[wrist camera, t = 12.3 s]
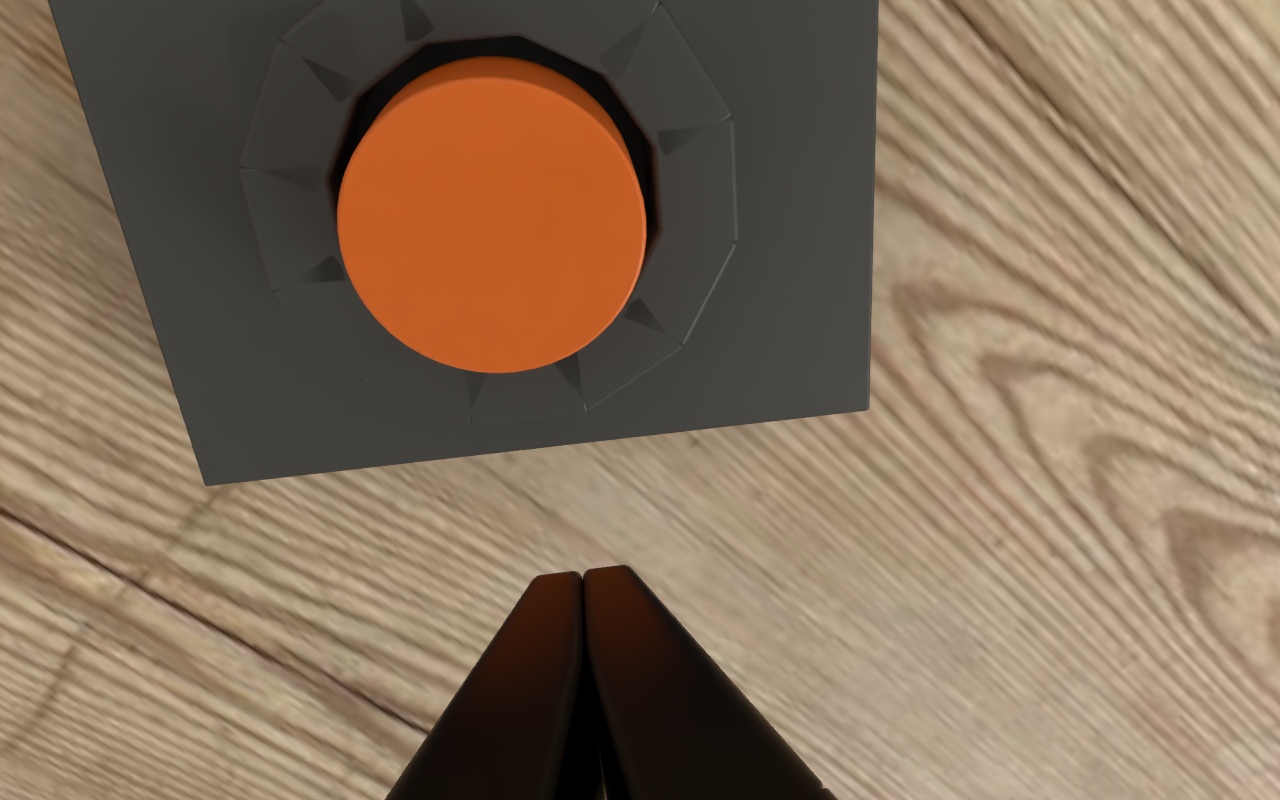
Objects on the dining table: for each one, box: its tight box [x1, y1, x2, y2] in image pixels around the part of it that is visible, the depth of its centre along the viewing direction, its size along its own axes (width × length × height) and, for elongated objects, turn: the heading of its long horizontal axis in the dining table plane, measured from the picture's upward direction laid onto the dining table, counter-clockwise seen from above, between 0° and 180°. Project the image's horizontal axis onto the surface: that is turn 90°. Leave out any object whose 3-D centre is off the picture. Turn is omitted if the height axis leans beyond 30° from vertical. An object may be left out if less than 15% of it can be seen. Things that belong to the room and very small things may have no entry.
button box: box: [48, 0, 879, 486], centre depth 17 cm, size 12×10×4 cm
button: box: [337, 56, 646, 373], centre depth 14 cm, size 4×4×2 cm
